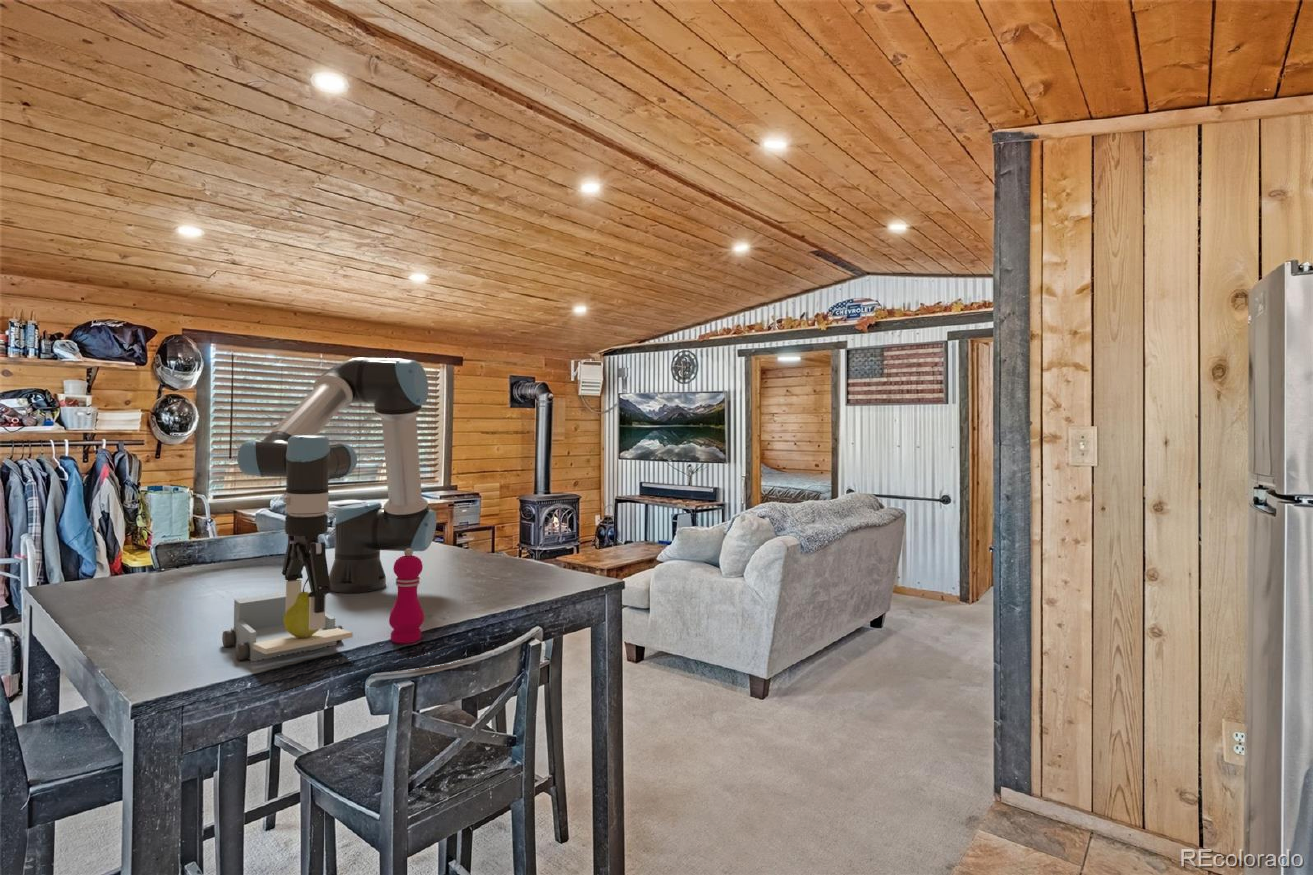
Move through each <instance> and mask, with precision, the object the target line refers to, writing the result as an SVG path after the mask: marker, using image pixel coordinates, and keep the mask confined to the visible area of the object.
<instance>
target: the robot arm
mask: <svg viewBox="0 0 1313 875" xmlns="http://www.w3.org/2000/svg"><path fill="white" fill-rule="evenodd" d="M428 398H429V381H428V376H427V374H426V371H425V369H424V367H423V366H422V364H421V363H420V362H419V361H417V360H414V359H405V358H402V357H401V358H399V357H398V358H397V357H396V358H395V357H393V358H392V357H391V358H390V357H387V358H385V357H355V358H351V359H348V360H345V361H342V362H340V363H338V364H336V365H334V366H333V367H331V368H329V369H327V370H326V371H325V372H324V373H323V374H321V375H320V376H319V377H318V378H317V379H316V380H315V381H314V384H313V389H312V391H310V392H309V393H308V394H307V395H306V396H305V397H304V398H303V399H302V400H301V401H300V402H299V403H298V404H297V405H296V406H295V407H294V408H293V409H292V411H290V412H289V413H288V414H287V415H286V416H285V417H284V418H283V419H282V421H280V422H279V423H278V424H277V425H276V426H275V428H273V429H272V430H271V431H269V432H270V433H268V434H267V435H266V436H265V437H264V439H262V440H259V439H253V440H246V441H244V442H243V443H242V444H241V445H240V447H239V449H238V451H237V456H236V458H237V465H238V468H239V471H241V473H243V474H244V475H247V476H255V477H261V478H266V477H269V478H270V477H271V478H272V477H273V478H286V479H285V482H286V483H285V484H286V486H285V488H286V489H285V497H284V498H283V499H282V501H283V503H284V504H285V512H286V513H287V515H286V516H285V517H284V519H285V520H284V521H285V523H284V525H285V526H284V532H285V534H286V535H287V546H286V552H285V557H284V560H283V561H284V562H283V566H282V571H281V574H282V576H284V579H285V581H286V582H285V592H286V611H285V613H286V612H287V611H288V610H289V609H290V608H291V607H292V606H293V605H294V604H295V602H296V600H297V596H298V594H299V593H301V590H302V579H303V578H304V577H303V573H302V572H303V570H304V567H305V572H306V575H307V576H306V577H307V578H308V581H307V582H308V584H309V589H311V592H310V593H309V594H308V597H309V630H315V629H320V628H325V612H326V601H327V600H326V599H327V598H326V596H327V594H331V593H332V592H335V593H342V594H349V593H351V594H354V593H355V594H358V593H367V592H373V591H377V590H381V589H382V588H384V587H386V585H387V583H386V582H387V576H386V574H385V570H384V567H383V564H382V562H381V551H393V552H404V551H405V550H406V549H408V548H410V549H412V551H413V552H424V551H426V550H428V549H429V547H430V546H431V545H432V542H433V539H434V537H435V533H436V528H437V515H438V514H437V513H436V511H435V510H434V509H431V508H430V509H429V503H428V500H427V499H426V498H424V497H423V496H422V483H421V480H422V479H421V468H420V453H419V452H420V450H419V440H418V439H419V438H418V437H419V436H418V425H417V424H418V422H417V415H418V414H419V413H420V412H421V411H422V405H425V404H426V403H427V401H428ZM354 403H370V404H373V406H374V407H373V408H374V413H376V415H378V416H380V418H381V425H382V426H381V427H382V438H383V448H384V449H383V450H384V461H385V471H386V473H385V474H386V483H387V485H386V487H387V495H388V500H387V501H386V502H385V503H384V504H383V505H382V503H381V502H375V501H374V502H373V501H371V502H362V503H354V504H347V505H344V506H341V507H339V508H338V509H337V510H336V512H335V513H336V514H335V520H334V521H335V522H334V560H333V564H332V566H331V568H330V571H329V569H328V568H329V567H328V561H327V555H326V542H319V536H320V535H325V534H326V533H327V532H328V529H329V528H328V525H329V523H328V522H329V516H328V515H327V514H326V513H327V512H328V511H329V496H330V495H329V481H331V480H334V479H342V478H344V477H346V476H348V475H350V474H352V473H353V471H355V468H356V467H357V463H358V456H357V453H356V451H355V449H354V448H353V447H352V446H351V445H349V444H348V443H344V442H335V441H334V442H331V443H330V440H329V437H327V436H325V435H319V433H320V432H321V431H322V430H323V429H324V428H325V427H326V425H327V424H328V423H329V422H330V421H331V420H332V419H333V418H334V416H336V414H337V413H338V412H339V411H340V410H344V409H346V408H348V407H349V406H350V405H351V404H354Z"/></svg>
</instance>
